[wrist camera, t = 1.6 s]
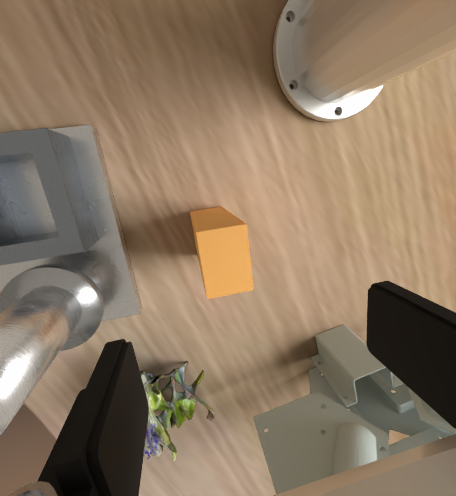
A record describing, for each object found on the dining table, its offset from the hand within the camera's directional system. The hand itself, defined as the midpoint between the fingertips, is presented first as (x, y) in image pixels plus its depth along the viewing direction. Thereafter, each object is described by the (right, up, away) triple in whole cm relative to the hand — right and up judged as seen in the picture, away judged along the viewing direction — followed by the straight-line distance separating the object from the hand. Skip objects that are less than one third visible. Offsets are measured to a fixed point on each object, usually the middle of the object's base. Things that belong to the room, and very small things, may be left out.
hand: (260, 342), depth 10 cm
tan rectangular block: (-3, +5, +19) cm, 20 cm away
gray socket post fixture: (-18, +5, +16) cm, 25 cm away
